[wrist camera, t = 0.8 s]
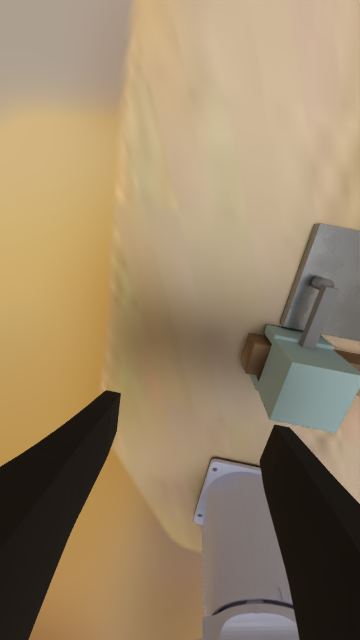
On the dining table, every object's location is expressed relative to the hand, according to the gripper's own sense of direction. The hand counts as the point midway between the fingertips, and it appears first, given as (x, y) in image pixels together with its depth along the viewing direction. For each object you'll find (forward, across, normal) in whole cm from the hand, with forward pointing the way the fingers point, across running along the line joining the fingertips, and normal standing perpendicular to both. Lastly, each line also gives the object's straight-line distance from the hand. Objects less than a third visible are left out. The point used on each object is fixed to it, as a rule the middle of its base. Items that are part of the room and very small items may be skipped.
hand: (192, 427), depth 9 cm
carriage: (+9, -7, -2) cm, 12 cm away
